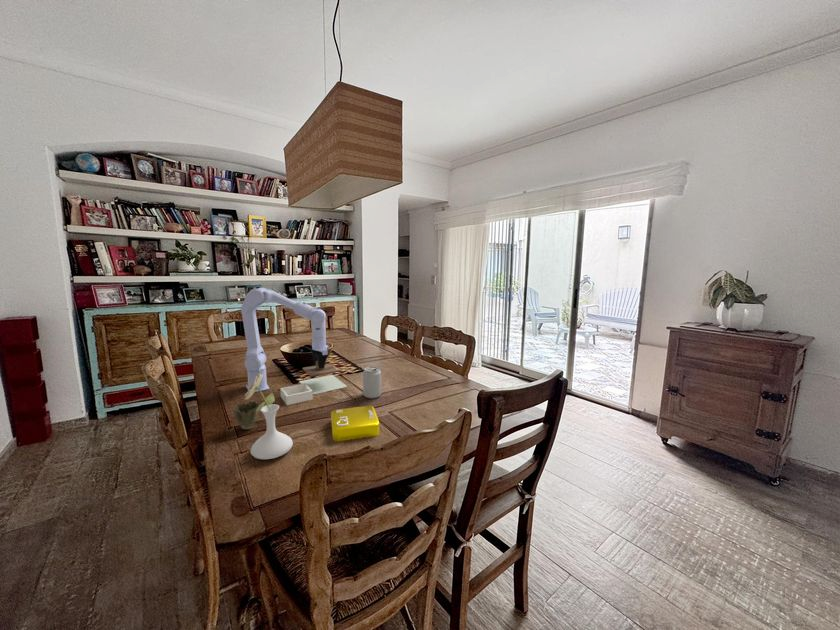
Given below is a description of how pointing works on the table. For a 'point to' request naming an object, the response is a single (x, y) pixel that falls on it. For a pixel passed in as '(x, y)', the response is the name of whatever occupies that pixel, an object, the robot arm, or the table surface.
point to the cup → (246, 414)
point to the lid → (319, 370)
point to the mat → (323, 384)
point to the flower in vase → (268, 428)
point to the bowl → (296, 394)
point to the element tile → (354, 423)
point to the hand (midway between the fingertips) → (320, 366)
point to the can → (371, 382)
